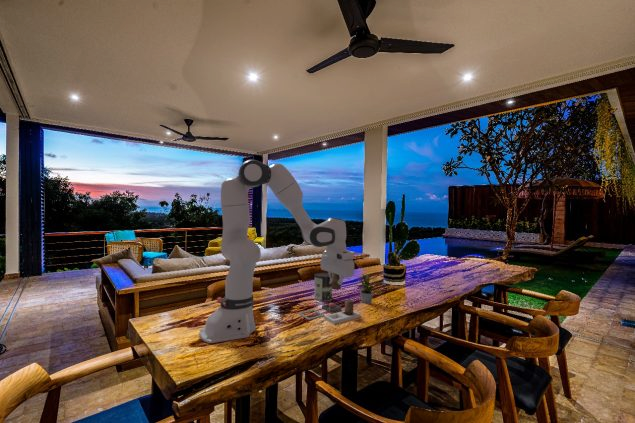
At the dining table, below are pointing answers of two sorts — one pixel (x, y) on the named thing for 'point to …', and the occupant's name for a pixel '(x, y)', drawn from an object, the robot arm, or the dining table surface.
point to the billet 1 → (335, 281)
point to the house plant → (366, 290)
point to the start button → (331, 305)
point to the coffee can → (323, 287)
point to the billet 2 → (349, 307)
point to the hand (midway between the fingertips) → (336, 283)
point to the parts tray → (312, 317)
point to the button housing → (334, 309)
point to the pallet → (340, 317)
